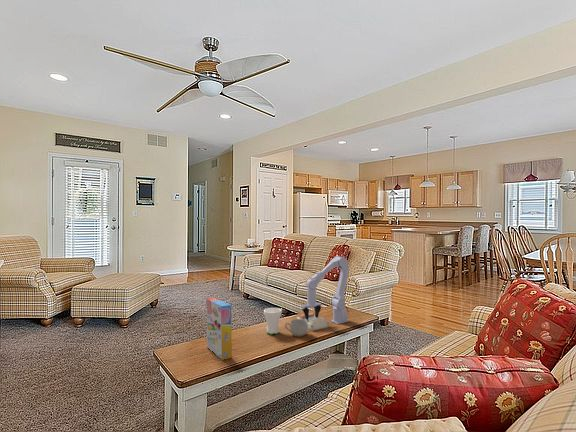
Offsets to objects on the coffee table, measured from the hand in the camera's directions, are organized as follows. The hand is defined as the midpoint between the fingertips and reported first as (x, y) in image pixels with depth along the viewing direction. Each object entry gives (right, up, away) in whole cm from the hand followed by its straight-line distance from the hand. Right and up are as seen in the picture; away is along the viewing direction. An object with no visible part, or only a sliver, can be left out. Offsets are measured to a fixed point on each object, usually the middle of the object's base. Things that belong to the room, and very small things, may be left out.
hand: (311, 318), depth 219 cm
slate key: (0, -2, 0) cm, 2 cm away
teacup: (-11, -5, -18) cm, 21 cm away
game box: (-53, -5, -43) cm, 68 cm away
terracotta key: (-3, -1, +5) cm, 6 cm away
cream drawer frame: (0, -4, 0) cm, 4 cm away
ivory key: (+3, -1, -5) cm, 6 cm away
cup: (-25, -5, -14) cm, 29 cm away
